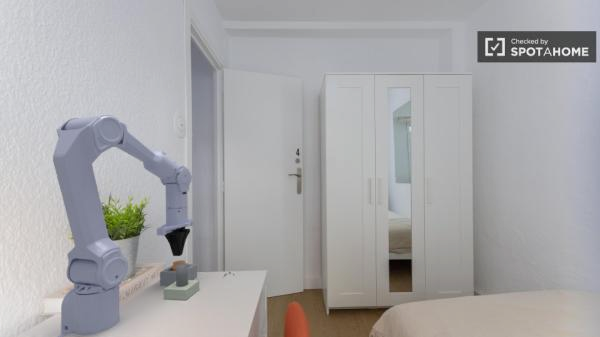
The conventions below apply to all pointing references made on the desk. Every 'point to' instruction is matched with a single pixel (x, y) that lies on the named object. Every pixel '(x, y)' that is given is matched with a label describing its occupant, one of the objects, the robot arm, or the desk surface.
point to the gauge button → (177, 264)
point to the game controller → (227, 274)
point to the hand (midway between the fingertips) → (177, 255)
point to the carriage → (181, 285)
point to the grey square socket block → (170, 276)
